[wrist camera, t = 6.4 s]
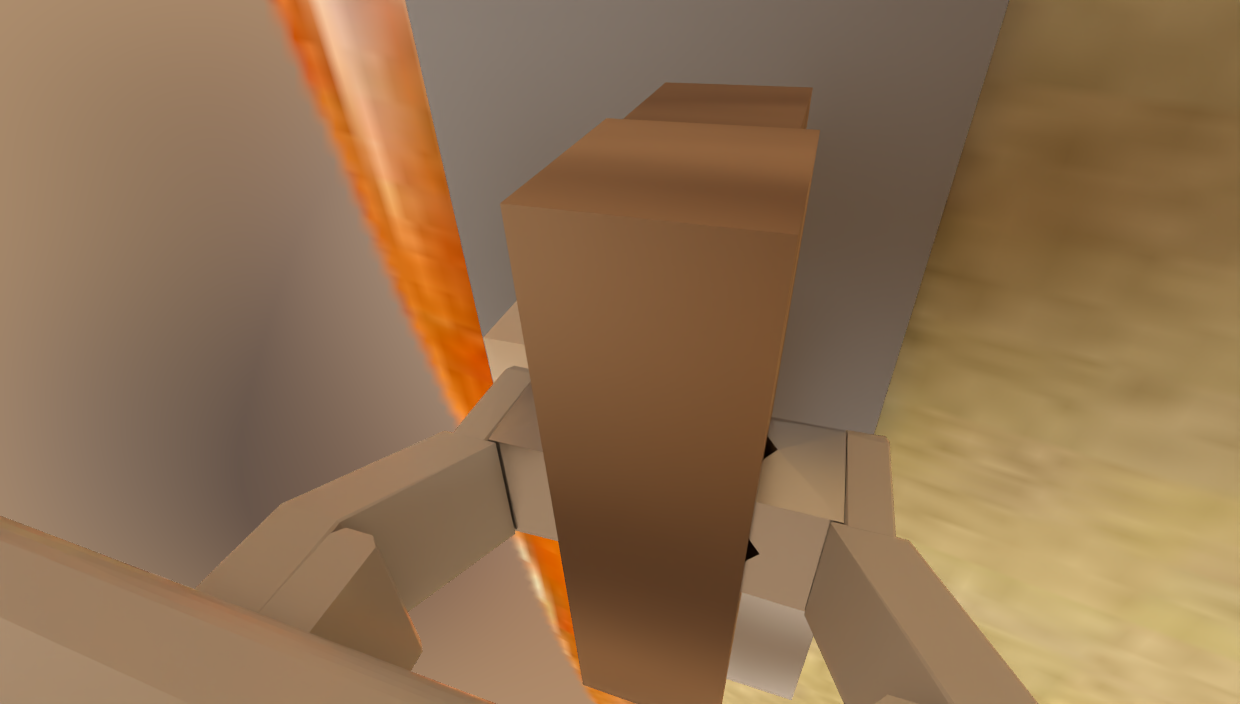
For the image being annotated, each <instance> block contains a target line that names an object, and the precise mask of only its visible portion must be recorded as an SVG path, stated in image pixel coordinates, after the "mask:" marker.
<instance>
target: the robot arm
mask: <svg viewBox="0 0 1240 704" xmlns="http://www.w3.org/2000/svg"><path fill="white" fill-rule="evenodd" d="M515 530H516V531H520V532H524V533H528V534H532V535H536V536H540V537H544V538H548V539H552V540H556V541H558V536H557V530H556V525H555V519H554V513H553V507H552V501H551V496H550V490H549V484H548V478H547V473H546V467H545V461H544V455H543V449H542V444H541V438H540V432H539V426H538V420H537V415H536V409H535V403H534V397H533V392H532V386H531V380H530V374H529V369H527V368H523V367H518V366H512V367H509V368H507V369H505V370H504V371H503V373H502V374H501V375H500V376H499V377H498V379H497V380H496V381H495V382H494V384H493V385H492V386H491V387H490V388H489V390H488V391H487V392H486V393H485V394H484V396H483V397H482V398H481V399H480V401H479V402H478V403H477V404H476V405H475V407H474V408H473V409H472V410H471V411H470V413H469V414H468V415H467V416H466V417H465V419H464V420H463V421H462V422H461V424H460V425H459V426H458V427H457V428H456V430H455V431H454V432H448V431H443V432H441V433H438V434H436V435H434V436H432V437H429V438H427V439H425V440H422V441H421V442H418V443H416V444H414V445H411V446H409V447H407V448H405V449H402V450H400V451H398V452H396V453H394V454H392V455H389V456H387V457H385V458H383V459H380V460H378V461H376V462H374V463H371V464H369V465H367V466H365V467H363V468H360V469H358V470H356V471H353V472H351V473H349V474H347V475H345V476H342V477H340V478H338V479H336V480H333V481H331V482H329V483H327V484H325V485H322V486H320V487H318V488H316V489H314V490H311V491H309V492H307V493H305V494H302V495H300V496H298V497H296V498H293V499H291V500H289V501H287V502H285V503H282V504H281V505H280V506H279V507H278V508H276V509H275V510H274V511H273V512H272V513H271V514H270V515H269V516H268V517H267V518H266V519H265V520H264V521H263V522H262V523H261V524H260V525H259V526H258V527H257V528H256V529H255V530H254V531H253V532H252V533H251V534H250V535H249V536H248V537H247V538H246V539H245V540H244V541H243V542H242V543H241V544H240V545H239V546H238V547H237V548H236V549H235V550H234V551H233V552H231V554H229V555H228V556H227V557H226V558H225V559H224V560H223V561H222V562H221V563H220V564H219V565H218V566H217V567H216V568H215V569H214V570H213V571H212V572H211V573H210V574H209V575H208V576H207V577H206V578H205V579H204V580H203V581H202V582H201V583H200V584H199V585H198V586H197V587H196V588H195V589H193V588H190V587H187V586H185V585H182V584H180V583H177V582H174V581H172V580H169V579H166V578H164V577H161V576H159V575H156V574H153V573H151V572H148V571H145V570H143V569H140V568H137V567H135V566H132V565H130V564H127V563H124V562H122V561H119V560H116V559H114V558H111V557H108V556H105V555H103V554H101V553H98V552H95V551H92V550H90V549H87V548H85V547H82V546H79V545H77V544H74V543H71V542H69V541H66V540H64V539H61V538H58V537H55V536H53V535H50V534H48V533H45V532H43V531H40V530H37V529H35V528H32V527H29V526H27V525H24V524H22V523H19V522H16V521H14V520H11V519H8V518H6V517H3V516H0V704H496V703H493V702H490V701H488V700H485V699H483V698H480V697H477V696H475V695H472V694H470V693H467V692H464V691H462V690H459V689H456V688H454V687H451V686H449V685H446V684H443V683H441V682H438V681H435V680H433V679H430V678H427V677H425V676H422V675H420V674H417V673H414V672H412V671H411V670H412V668H413V667H414V665H415V663H416V662H417V660H418V658H419V657H420V655H421V653H422V644H421V640H420V637H419V635H418V633H417V631H416V629H415V626H414V624H413V622H412V620H411V618H410V616H409V613H408V612H409V611H410V610H411V609H413V608H414V607H415V606H417V605H418V604H420V603H421V602H422V601H424V600H425V599H427V598H428V597H429V596H431V595H432V594H433V593H434V592H436V591H437V590H439V589H440V588H441V587H443V586H444V585H446V584H447V583H448V582H450V581H451V580H452V579H454V578H455V577H457V576H458V575H459V574H461V573H462V572H463V571H465V570H466V569H467V568H469V567H470V566H471V565H473V564H474V563H476V562H477V561H478V560H480V559H481V558H482V557H484V556H485V555H487V554H488V553H489V552H491V551H492V550H493V549H495V548H496V547H498V546H499V545H500V544H502V543H503V542H505V541H506V540H507V539H509V538H510V537H511V536H513V535H514V534H515ZM740 592H742V593H745V594H749V595H752V596H755V597H758V598H762V599H765V600H768V601H771V602H775V603H778V604H781V605H784V606H788V607H791V608H794V609H797V610H801V611H804V612H805V613H804V616H805V618H806V620H807V622H808V625H809V627H810V629H811V631H812V634H813V636H814V638H815V640H816V642H817V645H818V647H819V649H820V651H821V654H822V656H823V658H824V660H825V662H826V665H827V667H828V669H829V671H830V674H831V676H832V678H833V680H834V682H835V685H836V687H837V689H838V691H839V694H840V696H841V698H842V700H843V702H844V704H1038V703H1037V701H1036V700H1035V699H1034V698H1033V696H1032V695H1031V694H1030V693H1029V691H1028V690H1027V689H1026V687H1025V686H1024V685H1023V684H1022V682H1021V681H1020V680H1019V679H1018V677H1017V676H1016V675H1015V674H1014V672H1013V671H1012V670H1011V668H1010V667H1009V666H1008V665H1007V663H1006V662H1005V661H1004V660H1003V658H1002V657H1001V656H1000V655H999V653H998V652H997V651H996V650H995V648H994V647H993V646H992V644H991V643H990V642H989V641H988V639H987V638H986V637H985V636H984V634H983V633H982V632H981V631H980V629H979V628H978V627H977V625H976V624H975V623H974V622H973V620H972V619H971V618H970V617H969V615H968V614H967V613H966V612H965V610H964V609H963V608H962V606H961V605H960V604H959V603H958V601H957V600H956V599H955V598H954V596H953V595H952V594H951V593H950V591H949V590H948V589H947V588H946V586H945V585H944V584H943V582H942V581H941V580H940V579H939V577H938V576H937V575H936V574H935V572H934V571H933V570H932V569H931V567H930V566H929V565H928V563H927V562H926V561H925V560H924V558H923V557H922V556H921V555H920V553H919V552H918V551H917V550H916V548H915V547H914V546H913V545H912V543H911V542H910V541H909V540H905V539H902V538H898V537H896V531H895V516H894V501H893V486H892V471H891V457H890V442H889V441H888V439H887V438H886V437H885V436H879V435H873V434H868V433H862V432H856V431H850V430H846V431H844V430H841V429H835V428H830V427H825V426H819V425H814V424H808V423H803V422H798V421H792V420H787V419H781V418H776V417H771V419H770V424H769V430H768V435H767V441H766V447H765V453H764V459H763V462H762V467H761V472H760V478H759V483H758V489H757V494H756V499H755V505H754V511H753V517H752V523H751V529H750V535H749V543H748V548H747V554H746V559H745V565H744V571H743V577H742V583H741V589H740Z"/></svg>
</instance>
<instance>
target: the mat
mask: <svg viewBox="0 0 1240 704" xmlns="http://www.w3.org/2000/svg"><path fill="white" fill-rule="evenodd" d="M405 1H406V6H407V10H408V14H409V19H410V23H411V27H412V32H413V36H414V40H415V45H416V49H417V53H418V58H419V62H420V66H421V71H422V75H423V79H424V84H425V88H426V92H427V97H428V101H429V106H430V110H431V114H432V119H433V123H434V127H435V132H436V136H437V140H438V145H439V149H440V153H441V158H442V162H443V166H444V171H445V175H446V179H447V184H448V188H449V192H450V197H451V201H452V206H453V210H454V214H455V219H456V223H457V227H458V232H459V236H460V240H461V245H462V249H463V253H464V258H465V262H466V266H467V271H468V275H469V279H470V284H471V288H472V292H473V297H474V301H475V306H476V310H477V314H478V319H479V323H480V327H481V332H482V336H483V337H484V336H485V335H486V334H487V333H488V332H489V331H490V330H491V328H492V327H493V326H494V325H495V324H496V323H497V322H498V321H499V320H500V319H501V317H502V316H503V315H504V314H505V313H506V312H507V311H508V310H509V309H510V308H511V306H512V305H513V304H514V303H515V302H516V301H517V299H516V293H515V287H514V282H513V276H512V270H511V264H510V258H509V253H508V247H507V241H506V235H505V230H504V224H503V218H502V212H501V206H500V203H501V202H502V201H504V200H505V199H506V198H507V197H509V196H510V195H511V194H512V193H514V192H515V191H516V190H517V189H519V188H520V187H521V186H522V185H524V184H525V183H526V182H527V181H529V180H530V179H531V178H532V177H534V176H535V175H536V174H537V173H539V172H540V171H541V170H542V169H544V168H545V167H546V166H547V165H549V164H550V163H551V162H552V161H554V160H555V159H556V158H557V157H559V156H560V155H561V154H562V153H564V152H565V151H566V150H567V149H569V148H570V147H571V146H572V145H574V144H575V143H576V142H577V141H579V140H580V139H581V138H582V137H584V136H585V135H586V134H587V133H589V132H590V131H591V130H592V129H594V128H595V127H596V126H597V125H599V124H600V123H601V122H602V121H604V120H605V119H606V118H612V119H623V118H625V117H626V116H627V115H628V114H629V113H630V112H632V111H633V110H634V109H635V108H636V107H637V106H639V105H640V104H641V103H642V102H643V101H644V100H646V99H647V98H648V97H649V96H650V95H651V94H653V93H654V92H655V91H656V90H657V89H658V88H660V87H661V86H662V85H663V84H664V83H665V82H670V83H698V84H727V85H756V86H785V87H813V90H812V96H811V103H810V109H809V116H808V122H807V128H806V129H813V130H820V134H819V140H818V146H817V152H816V157H815V163H814V169H813V175H812V181H811V187H810V193H809V199H808V205H807V211H806V217H805V222H804V228H803V234H802V240H801V246H800V252H799V258H798V264H797V270H796V276H795V282H794V288H793V293H792V299H791V305H790V311H789V317H788V323H787V329H786V335H785V341H784V347H783V353H782V358H781V364H780V370H779V376H778V382H777V388H776V394H775V400H774V406H773V412H772V417H776V418H781V419H787V420H792V421H798V422H803V423H808V424H814V425H819V426H825V427H830V428H835V429H841V430H844V431H846V430H850V431H856V432H862V433H868V434H873V435H874V432H875V429H876V426H877V423H878V419H879V416H880V413H881V410H882V407H883V403H884V400H885V397H886V394H887V391H888V387H889V384H890V381H891V378H892V375H893V371H894V368H895V365H896V362H897V359H898V355H899V352H900V349H901V346H902V343H903V339H904V336H905V333H906V330H907V327H908V323H909V320H910V317H911V314H912V310H913V307H914V304H915V301H916V298H917V294H918V291H919V288H920V285H921V282H922V278H923V275H924V272H925V269H926V266H927V262H928V259H929V256H930V253H931V250H932V246H933V243H934V240H935V237H936V234H937V230H938V227H939V224H940V221H941V218H942V214H943V211H944V208H945V205H946V202H947V198H948V195H949V192H950V189H951V186H952V182H953V179H954V176H955V173H956V170H957V166H958V163H959V160H960V157H961V154H962V150H963V147H964V144H965V141H966V138H967V134H968V131H969V128H970V125H971V122H972V118H973V115H974V112H975V109H976V105H977V102H978V99H979V96H980V93H981V89H982V86H983V83H984V80H985V77H986V73H987V70H988V67H989V64H990V61H991V57H992V54H993V51H994V48H995V45H996V41H997V38H998V35H999V32H1000V29H1001V25H1002V22H1003V19H1004V16H1005V13H1006V9H1007V6H1008V3H1009V0H405ZM483 340H484V339H483ZM484 345H485V344H484ZM485 349H486V348H485ZM486 353H487V352H486ZM487 358H488V357H487ZM488 362H489V361H488ZM489 366H490V365H489ZM490 371H491V370H490ZM491 375H492V374H491ZM492 379H493V378H492ZM493 384H494V383H493Z"/></svg>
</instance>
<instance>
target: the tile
mask: <svg viewBox="0 0 1240 704" xmlns="http://www.w3.org/2000/svg"><path fill="white" fill-rule="evenodd" d="M483 339H484V344H485V348H486V352H487V357H488V361H489V365H490V370H491V374H492V378H493V383H494V382H495V381H496V380H497V379H498V377H499V376H500V375H501V374H502V373H503V371H504V370H505V369H507V368H509V367H512V366H518V367H523V368H527V369H529V368H528V363H527V357H526V351H525V345H524V339H523V334H522V328H521V322H520V316H519V311H518V305H517V301H516V302H515V303H514V304H513V305H512V306H511V308H510V309H509V310H508V311H507V312H506V313H505V314H504V315H503V316H502V317H501V319H500V320H499V321H498V322H497V323H496V324H495V325H494V326H493V327H492V328H491V330H490V331H489V332H488V333H487V334H486V335H485V336H484V337H483Z"/></svg>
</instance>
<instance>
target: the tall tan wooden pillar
mask: <svg viewBox="0 0 1240 704" xmlns="http://www.w3.org/2000/svg"><path fill="white" fill-rule="evenodd" d="M812 90H813V87H785V86H756V85H727V84H698V83H670V82H665V83H664V84H663V85H662V86H661V87H660V88H658V89H657V90H656V91H655V92H654V93H653V94H651V95H650V96H649V97H648V98H647V99H646V100H644V101H643V102H642V103H641V104H640V105H639V106H637V107H636V108H635V109H634V110H633V111H632V112H630V113H629V114H628V115H627V116H626V117H625V118H623V119H612V118H606V119H605V120H604V121H602V122H601V123H600V124H599V125H597V126H596V127H595V128H594V129H592V130H591V131H590V132H589V133H587V134H586V135H585V136H584V137H582V138H581V139H580V140H579V141H577V142H576V143H575V144H574V145H572V146H571V147H570V148H569V149H567V150H566V151H565V152H564V153H562V154H561V155H560V156H559V157H557V158H556V159H555V160H554V161H552V162H551V163H550V164H549V165H547V166H546V167H545V168H544V169H542V170H541V171H540V172H539V173H537V174H536V175H535V176H534V177H532V178H531V179H530V180H529V181H527V182H526V183H525V184H524V185H522V186H521V187H520V188H519V189H517V190H516V191H515V192H514V193H512V194H511V195H510V196H509V197H507V198H506V199H505V200H504V201H502V202H501V203H500V206H501V212H502V218H503V224H504V230H505V235H506V241H507V247H508V253H509V258H510V264H511V270H512V276H513V282H514V287H515V293H516V299H517V305H518V311H519V316H520V322H521V328H522V334H523V339H524V345H525V351H526V357H527V363H528V368H529V374H530V380H531V386H532V392H533V397H534V403H535V409H536V415H537V420H538V426H539V432H540V438H541V444H542V449H543V455H544V461H545V467H546V473H547V478H548V484H549V490H550V496H551V501H552V507H553V513H554V519H555V525H556V530H557V536H558V542H559V548H560V554H561V559H562V565H563V571H564V577H565V582H566V588H567V594H568V600H569V606H570V611H571V617H572V623H573V629H574V635H575V640H576V646H577V652H578V658H579V663H580V669H581V675H582V681H583V685H586V686H588V687H591V688H594V689H597V690H600V691H602V692H605V693H608V694H611V695H614V696H616V697H619V698H622V699H625V700H628V701H631V702H633V703H636V704H722V700H723V694H724V689H725V683H726V679H729V680H732V681H735V682H738V683H741V684H744V685H747V686H750V687H753V688H756V689H759V690H762V691H765V692H768V693H771V694H774V695H778V696H781V697H784V698H787V699H790V700H792V697H793V694H794V691H795V689H796V686H797V683H798V680H799V677H800V674H801V671H802V668H803V665H804V662H805V659H806V656H807V653H808V650H809V647H810V644H811V641H812V638H813V634H812V631H811V629H810V627H809V625H808V622H807V620H806V618H805V616H804V613H805V612H804V611H801V610H797V609H794V608H791V607H788V606H784V605H781V604H778V603H775V602H771V601H768V600H765V599H762V598H758V597H755V596H752V595H749V594H745V593H742V592H740V589H741V583H742V577H743V571H744V565H745V559H746V554H747V548H748V543H749V535H750V529H751V523H752V517H753V511H754V505H755V499H756V494H757V489H758V483H759V478H760V472H761V467H762V462H763V459H764V453H765V447H766V441H767V435H768V430H769V424H770V419H771V417H772V412H773V406H774V400H775V394H776V388H777V382H778V376H779V370H780V364H781V358H782V353H783V347H784V341H785V335H786V329H787V323H788V317H789V311H790V305H791V299H792V293H793V288H794V282H795V276H796V270H797V264H798V258H799V252H800V246H801V240H802V234H803V228H804V222H805V217H806V211H807V205H808V199H809V193H810V187H811V181H812V175H813V169H814V163H815V157H816V152H817V146H818V140H819V134H820V130H813V129H806V128H807V122H808V116H809V109H810V103H811V96H812Z"/></svg>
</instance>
